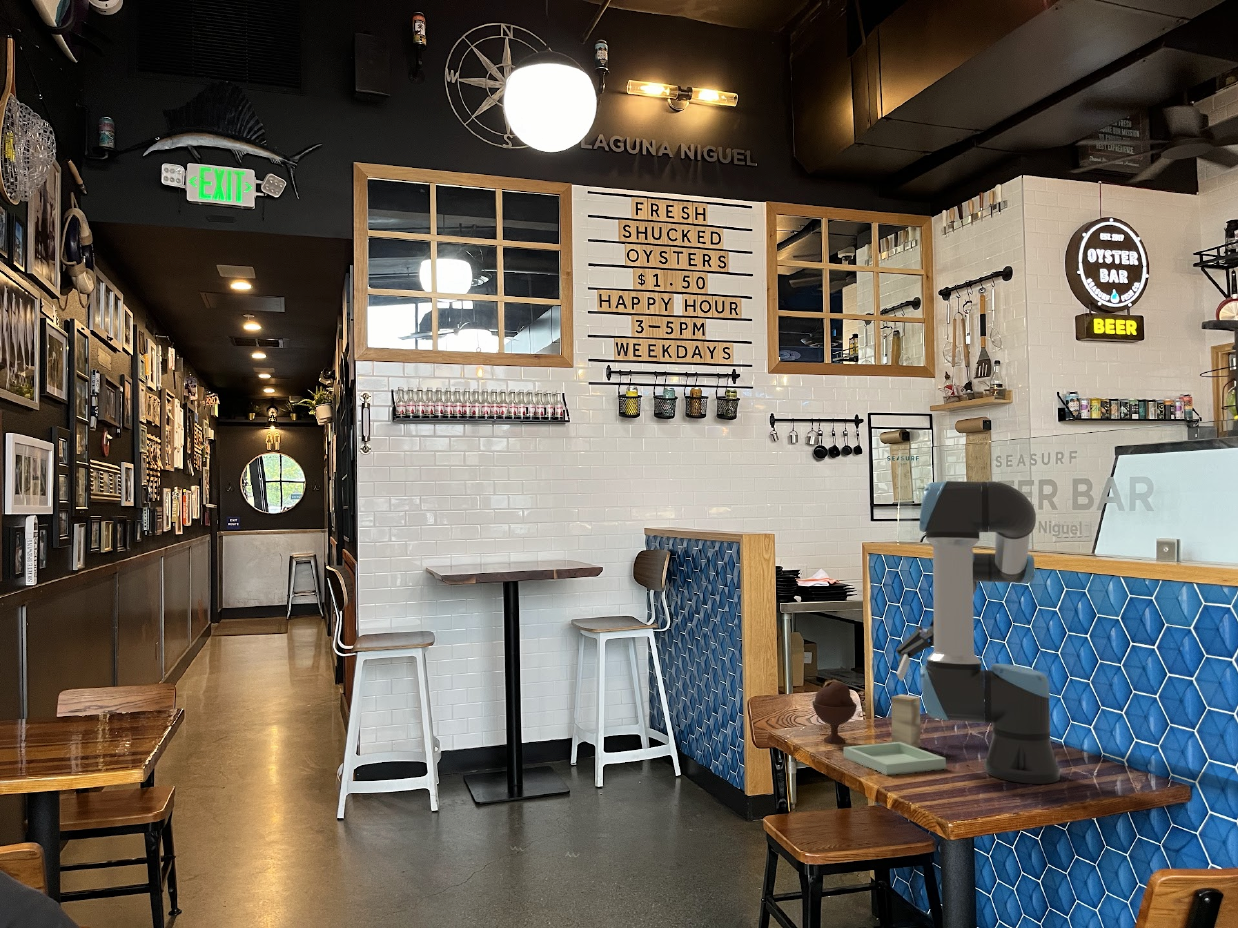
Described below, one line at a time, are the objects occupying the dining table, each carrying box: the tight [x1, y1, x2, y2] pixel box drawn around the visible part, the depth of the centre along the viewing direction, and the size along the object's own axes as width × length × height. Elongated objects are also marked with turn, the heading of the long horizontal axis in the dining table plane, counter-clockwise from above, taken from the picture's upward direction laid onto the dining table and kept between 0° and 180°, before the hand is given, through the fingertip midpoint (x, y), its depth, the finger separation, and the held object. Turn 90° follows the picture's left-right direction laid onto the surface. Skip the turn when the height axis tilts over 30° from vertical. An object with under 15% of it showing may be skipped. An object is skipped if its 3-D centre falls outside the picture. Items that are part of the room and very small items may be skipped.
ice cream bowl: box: [811, 681, 858, 745], centre depth 230 cm, size 11×11×15 cm
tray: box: [843, 741, 947, 776], centre depth 209 cm, size 16×16×2 cm
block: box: [890, 693, 921, 749], centre depth 225 cm, size 5×5×12 cm
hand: (924, 680), depth 233 cm, fingers open, 13 cm apart
